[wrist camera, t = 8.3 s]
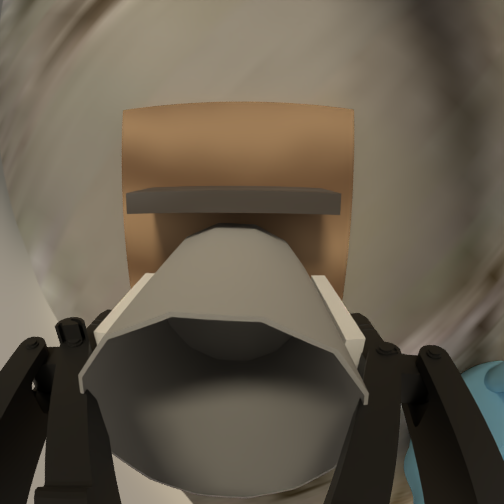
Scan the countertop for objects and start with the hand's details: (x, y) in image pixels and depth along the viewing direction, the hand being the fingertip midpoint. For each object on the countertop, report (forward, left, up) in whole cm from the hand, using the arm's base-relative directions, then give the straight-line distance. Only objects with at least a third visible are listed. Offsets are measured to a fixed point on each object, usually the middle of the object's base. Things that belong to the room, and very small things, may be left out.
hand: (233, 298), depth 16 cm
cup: (0, 0, -1) cm, 1 cm away
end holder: (0, 0, -3) cm, 3 cm away
